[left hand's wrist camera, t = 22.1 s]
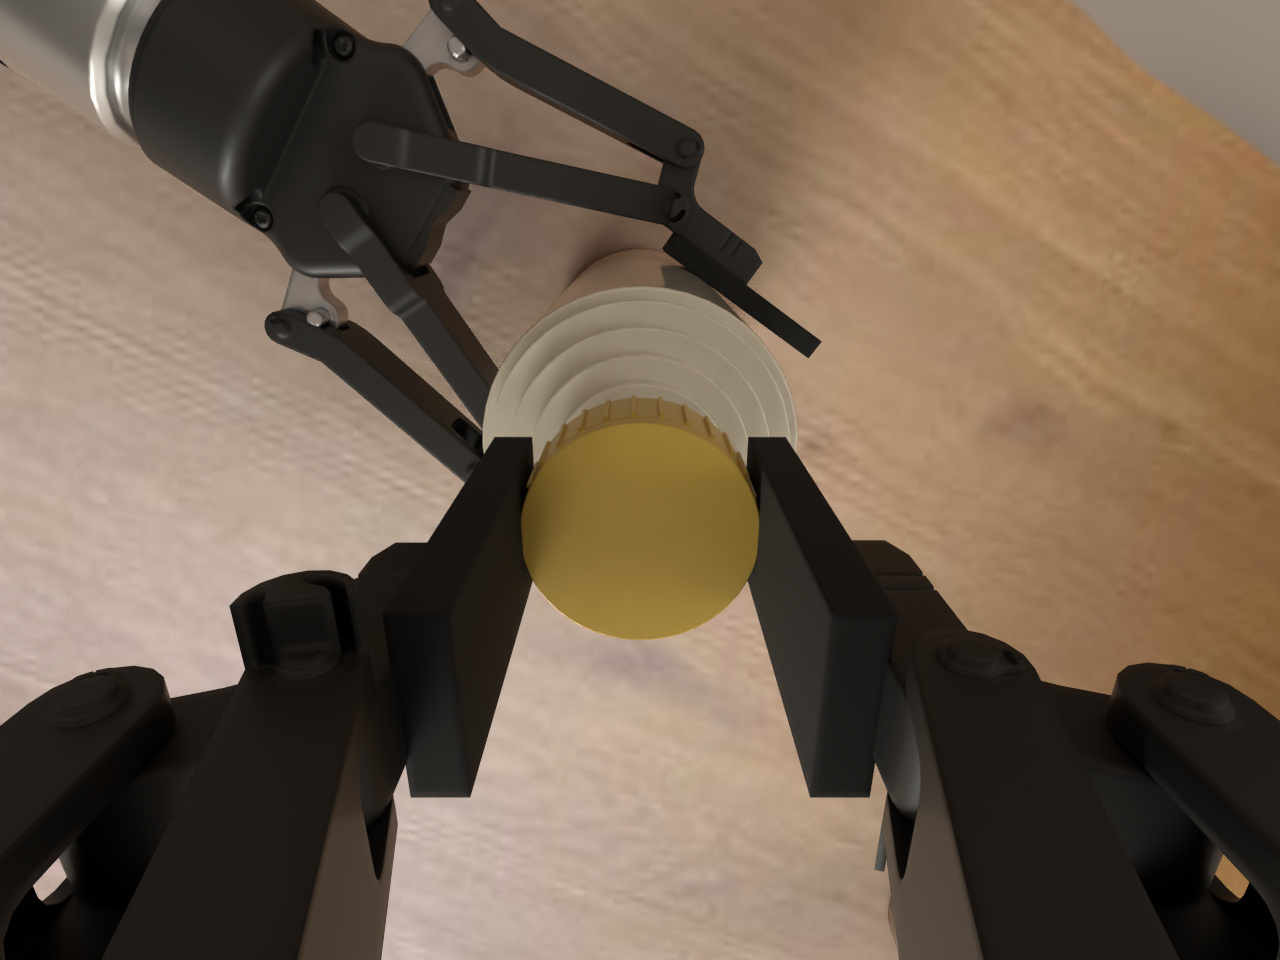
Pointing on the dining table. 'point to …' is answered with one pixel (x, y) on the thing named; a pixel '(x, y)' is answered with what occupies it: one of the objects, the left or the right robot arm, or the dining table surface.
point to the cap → (640, 520)
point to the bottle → (639, 356)
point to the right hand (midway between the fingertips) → (737, 431)
